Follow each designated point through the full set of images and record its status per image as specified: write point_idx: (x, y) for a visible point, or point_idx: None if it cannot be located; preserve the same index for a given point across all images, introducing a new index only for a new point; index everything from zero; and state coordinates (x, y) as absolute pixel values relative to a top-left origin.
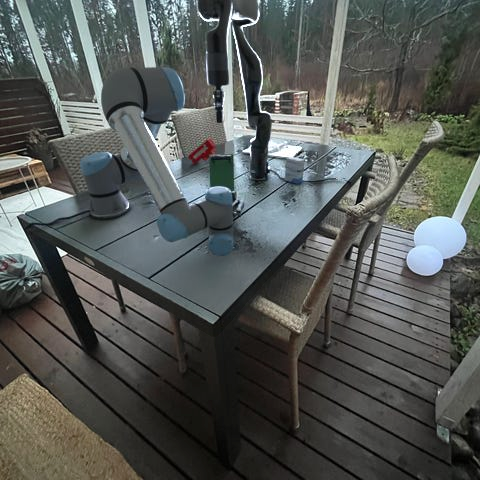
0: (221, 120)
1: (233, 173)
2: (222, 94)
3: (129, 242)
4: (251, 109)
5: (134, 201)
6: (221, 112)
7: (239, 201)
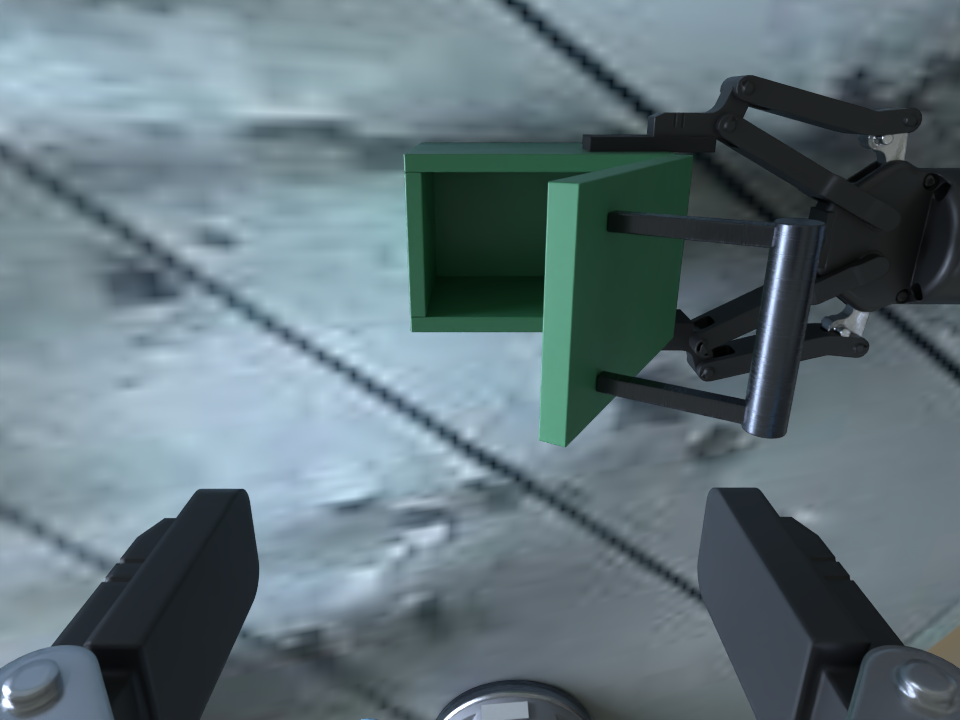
0: (808, 529)
1: (652, 169)
2: None
3: None
4: None
5: (407, 680)
6: (850, 645)
7: (737, 113)
